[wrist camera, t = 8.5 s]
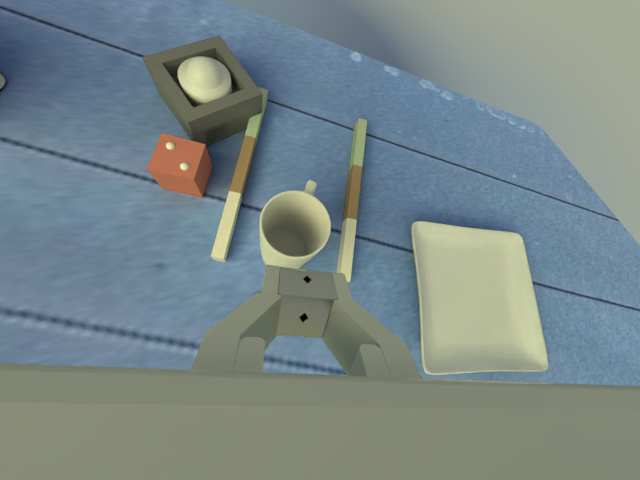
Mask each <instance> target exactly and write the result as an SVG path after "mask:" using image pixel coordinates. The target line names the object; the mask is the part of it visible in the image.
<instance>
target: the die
mask: <svg viewBox="0 0 640 480" xmlns="http://www.w3.org/2000/svg"><path fill="white" fill-rule="evenodd" d="M147 169H148V171H149V172H150V173H151V174H152V176H153V177H154V178H155V179H156V181H157V182H158V183H159V184H160V186H161V187H162V188H163V189H166V190H170V191H175V192H179V193H184V194H189V195H193V196H198V197H202V198H203V195H204V192H205V189H206V186H207V182H208V179H209V176H210V173H211V170H212V163H211V160H210V157H209V154H208V150H207V147H206V144H203V143H199V142H195V141H191V140H187V139H183V138H179V137H175V136H171V135H168V134H164V133H161V136H160V138H159V141H158V143H157V146H156V148H155V151H154V153H153V156H152V158H151V161H150V163H149V166H148V168H147Z"/></svg>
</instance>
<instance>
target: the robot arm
mask: <svg viewBox="0 0 640 480" xmlns="http://www.w3.org/2000/svg"><path fill="white" fill-rule="evenodd" d="M4 84H5V78H4V77H3V76H2V75H1V74H0V89H1V88H2V87H3V86H4ZM276 335H284V336H304V337H315V338H323V339H322V340H323V341H324V342H325V344H326V345H327V347H328V348H329V350H330V351H331V352H332V354H333V355H334V357H335V358H336V360H337V361H338V363H339V364H340V365H341V367H342V368H343V370H344V371H345V373H346V374H347V375H348V376H344V375H316V374H289V373H262V370H263V360H264V351H265V350H266V348H267V347H268V346H269V344H270V343H271V342H272V341H273V339H274V338H275V337H276ZM0 480H640V386H617V385H589V384H562V383H535V382H507V381H480V380H452V379H424V378H422V376H421V374H420V372H419V370H418V368H417V366H416V364H415V361H414V359H413V357H412V355H411V353H410V351H409V348H408V346H407V345H406V344H405V343H403V342H402V341H401V340H400V339H399V338H398V337H396V336H395V335H394V334H393V333H392V332H391V331H390V330H388V329H387V328H386V327H385V326H384V325H383V324H381V323H380V322H379V321H378V320H377V319H376V318H375V317H373V316H372V315H371V314H370V313H369V312H368V311H366V310H365V309H364V308H363V307H362V306H361V305H360V304H358V303H357V302H353V300H352V297H351V293H350V290H349V287H348V284H347V280H346V277H345V274H343V273H334V272H331V273H330V272H320V271H310V270H304V269H296V268H289V267H281V266H280V267H279V266H273V265H266V267H265V273H264V279H263V285H262V291H261V293H256V294H255V295H254V296H252V297H251V298H250V299H248V300H247V301H246V302H245V303H243V304H242V305H241V306H239V307H238V308H237V309H236V310H234V311H233V312H232V313H230V314H229V315H228V316H227V317H225V318H224V319H223V320H221V321H220V322H219V323H218V324H216V325H215V326H214V327H212V328H211V329H210V330H208V331H207V332H206V333H205V335H204V338H203V340H202V343H201V346H200V348H199V351H198V353H197V356H196V359H195V361H194V364H193V366H192V369H191V370H179V369H151V368H124V367H97V366H69V365H42V364H14V363H0Z"/></svg>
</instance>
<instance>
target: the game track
mask: <svg viewBox="0 0 640 480" xmlns="http://www.w3.org/2000/svg"><path fill="white" fill-rule="evenodd" d="M258 88H259V90H260V91H261V92H262V113H260V114H258V115H255V116H253V117H251V118H249V122H248V126H247V129H246V133H245V136H244V140H243V144H242V147H241V151H240V154H239V158H238V161H237V165H236V169H235V172H234V176H233V179H232V183H231V186H230V190H229V194H228V197H227V201H226V204H225V208H224V211H223V215H222V219H221V222H220V226H219V229H218V233H217V236H216V240H215V244H214V247H213V251H212V254H211V257H212V258H213V259H214V260H219V261H225V262H226V259H227V255H228V251H229V247H230V243H231V239H232V235H233V232H234V228H235V224H236V220H237V216H238V212H239V209H240V205H241V201H242V197H243V193H244V189H245V185H246V182H247V178H248V174H249V170H250V166H251V162H252V159H253V155H254V151H255V147H256V143H257V139H258V135H259V132H260V128H261V124H262V120H263V116H264V112H265V109H266V105H267V101H268V90H267V89H264V88H261V87H258ZM366 128H367V120H364V119H361V118H359V119H358V120H357V122H356V124H355V126H354V134H353V142H352V151H351V159H350V167H349V175H348V183H347V191H346V199H345V208H344V216H343V224H342V232H341V240H340V248H339V256H338V264H337V273H343V274H345V277H346V280H347V282H350V280H351V271H352V261H353V251H354V242H355V232H356V223H357V213H358V204H359V194H360V185H361V175H362V166H363V156H364V147H365V137H366Z"/></svg>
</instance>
